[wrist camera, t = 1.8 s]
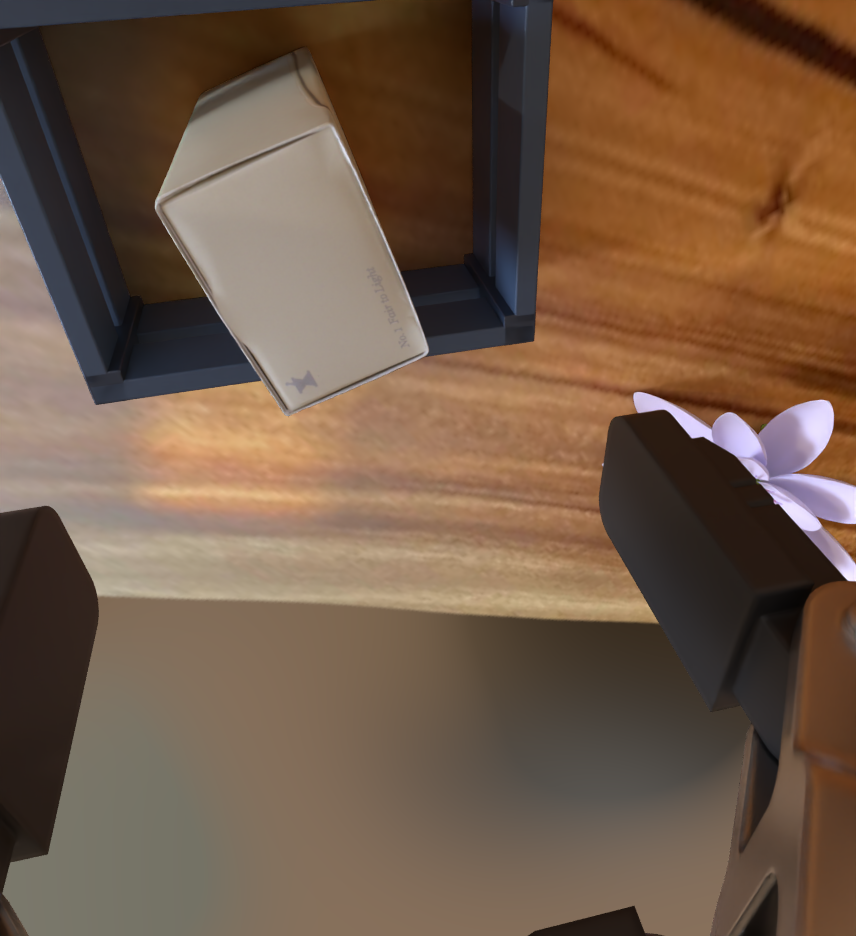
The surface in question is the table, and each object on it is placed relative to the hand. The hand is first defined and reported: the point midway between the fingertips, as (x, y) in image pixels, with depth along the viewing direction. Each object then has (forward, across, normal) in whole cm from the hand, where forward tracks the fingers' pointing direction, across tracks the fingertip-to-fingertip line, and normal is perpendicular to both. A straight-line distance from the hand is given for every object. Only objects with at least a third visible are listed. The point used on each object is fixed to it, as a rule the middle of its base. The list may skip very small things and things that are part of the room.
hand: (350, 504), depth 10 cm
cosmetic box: (+20, 0, 0) cm, 20 cm away
